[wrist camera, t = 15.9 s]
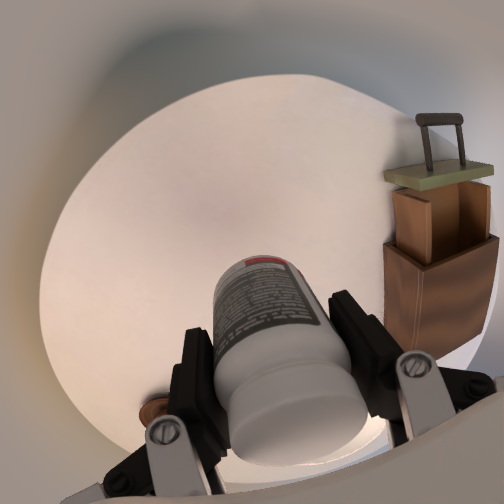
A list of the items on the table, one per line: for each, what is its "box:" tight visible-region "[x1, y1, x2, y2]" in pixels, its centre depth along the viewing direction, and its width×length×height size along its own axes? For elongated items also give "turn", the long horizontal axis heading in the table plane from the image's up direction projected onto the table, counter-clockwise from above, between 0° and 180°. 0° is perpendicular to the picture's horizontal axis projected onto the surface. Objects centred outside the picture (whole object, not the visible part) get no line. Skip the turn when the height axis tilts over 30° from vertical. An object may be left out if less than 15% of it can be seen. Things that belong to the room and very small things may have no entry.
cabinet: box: [383, 233, 499, 361], centre depth 31 cm, size 16×15×9 cm
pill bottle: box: [213, 255, 368, 467], centre depth 10 cm, size 5×5×8 cm
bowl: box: [298, 412, 386, 465], centre depth 39 cm, size 20×20×7 cm
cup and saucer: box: [139, 398, 169, 428], centre depth 36 cm, size 12×12×6 cm
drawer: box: [384, 113, 494, 267], centre depth 27 cm, size 21×13×7 cm, turn 14°
